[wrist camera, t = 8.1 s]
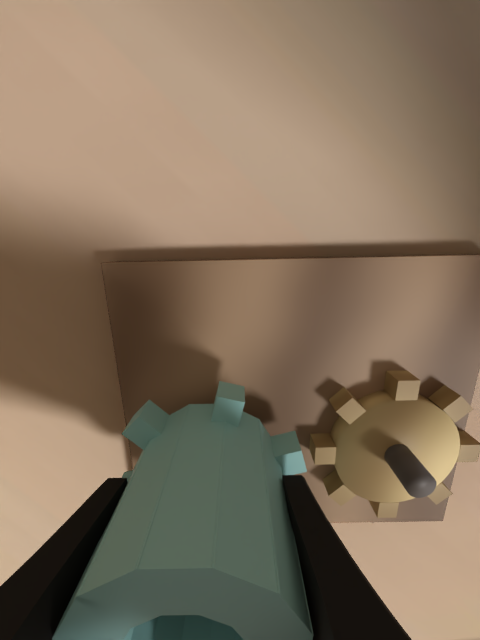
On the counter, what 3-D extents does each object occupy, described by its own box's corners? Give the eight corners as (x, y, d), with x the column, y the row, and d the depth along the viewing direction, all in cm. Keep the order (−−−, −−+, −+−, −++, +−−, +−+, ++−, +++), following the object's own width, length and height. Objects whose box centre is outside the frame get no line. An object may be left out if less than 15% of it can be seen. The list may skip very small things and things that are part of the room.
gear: (304, 379, 9) (376, 526, 4) (296, 526, 11) (342, 748, 6) (109, 382, 9) (-37, 532, 4) (134, 529, 11) (50, 752, 6)
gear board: (485, 254, 10) (668, 258, 6) (430, 504, 13) (521, 625, 9) (112, 261, 10) (18, 271, 6) (147, 509, 13) (104, 632, 9)
